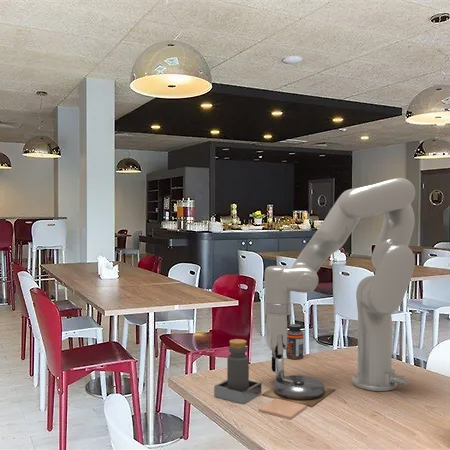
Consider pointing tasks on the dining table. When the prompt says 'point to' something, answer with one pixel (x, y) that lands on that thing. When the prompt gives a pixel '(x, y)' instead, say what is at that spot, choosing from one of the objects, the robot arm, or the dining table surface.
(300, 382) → the handwheel
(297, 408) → the pad
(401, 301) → the robot arm
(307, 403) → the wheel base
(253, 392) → the collar
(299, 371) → the dining table surface
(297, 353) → the supplement bottle
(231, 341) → the bottle
